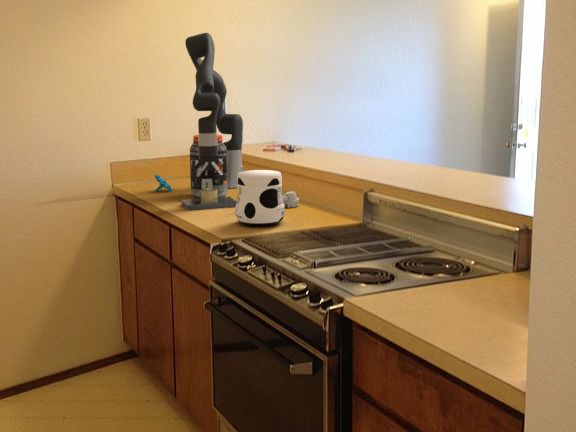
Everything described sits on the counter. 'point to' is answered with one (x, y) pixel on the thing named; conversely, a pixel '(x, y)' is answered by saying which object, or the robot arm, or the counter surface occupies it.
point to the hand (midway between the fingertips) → (209, 185)
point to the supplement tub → (208, 176)
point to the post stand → (208, 203)
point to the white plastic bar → (290, 199)
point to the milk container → (259, 197)
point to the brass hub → (209, 195)
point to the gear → (162, 184)
